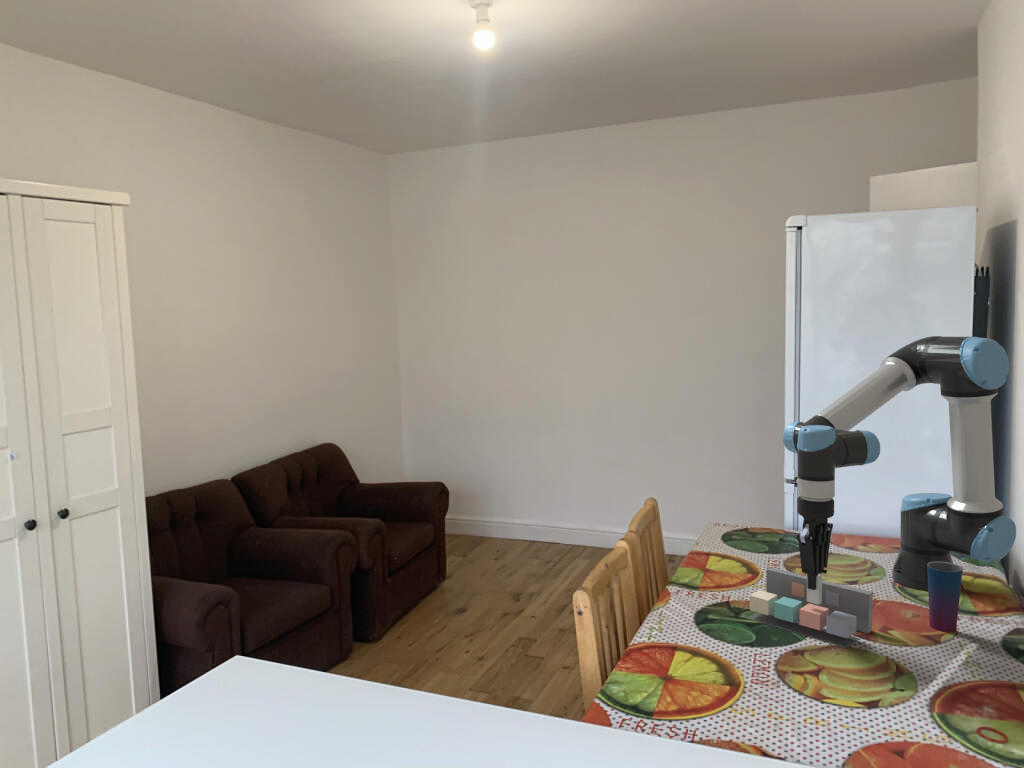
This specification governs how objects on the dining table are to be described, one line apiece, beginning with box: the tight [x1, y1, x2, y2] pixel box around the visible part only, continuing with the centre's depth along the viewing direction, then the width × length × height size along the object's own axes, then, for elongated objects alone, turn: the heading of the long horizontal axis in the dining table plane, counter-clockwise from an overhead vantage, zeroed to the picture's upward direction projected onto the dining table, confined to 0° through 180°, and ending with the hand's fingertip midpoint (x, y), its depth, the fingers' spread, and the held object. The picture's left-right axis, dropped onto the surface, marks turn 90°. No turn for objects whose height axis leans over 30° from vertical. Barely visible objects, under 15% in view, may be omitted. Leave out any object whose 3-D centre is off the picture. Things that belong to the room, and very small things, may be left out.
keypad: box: [747, 567, 874, 649], centre depth 171 cm, size 16×24×10 cm, turn 44°
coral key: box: [799, 604, 829, 630], centre depth 168 cm, size 4×4×4 cm
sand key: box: [749, 589, 777, 615], centre depth 177 cm, size 4×4×4 cm
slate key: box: [825, 611, 857, 638], centre depth 164 cm, size 4×4×4 cm
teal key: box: [773, 597, 802, 622], centre depth 172 cm, size 4×4×4 cm
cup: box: [927, 561, 963, 634], centre depth 168 cm, size 7×7×15 cm
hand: (814, 602), depth 168 cm, fingers closed
